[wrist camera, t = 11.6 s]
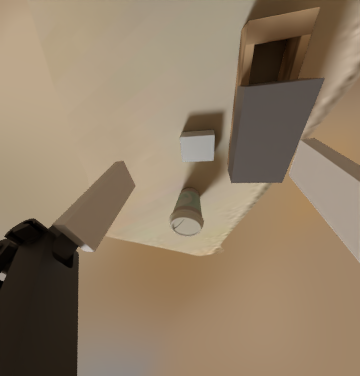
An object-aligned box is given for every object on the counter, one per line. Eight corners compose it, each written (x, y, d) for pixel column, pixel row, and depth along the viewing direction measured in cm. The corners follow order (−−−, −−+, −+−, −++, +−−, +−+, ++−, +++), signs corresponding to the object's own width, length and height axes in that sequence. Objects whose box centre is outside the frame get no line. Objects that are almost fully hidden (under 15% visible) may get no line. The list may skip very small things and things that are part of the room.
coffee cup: (196, 180, 39) (194, 212, 30) (208, 201, 43) (209, 234, 34) (170, 189, 42) (161, 220, 33) (183, 207, 46) (178, 240, 37)
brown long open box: (241, 30, 21) (249, 20, 18) (299, 19, 20) (320, 6, 16) (227, 163, 35) (229, 172, 31) (261, 162, 33) (268, 172, 30)
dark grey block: (233, 85, 24) (244, 87, 18) (289, 78, 23) (324, 78, 16) (225, 162, 33) (231, 182, 27) (265, 161, 32) (282, 182, 25)
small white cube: (181, 132, 32) (179, 137, 29) (213, 129, 30) (214, 134, 27) (184, 155, 35) (182, 161, 32) (212, 153, 34) (213, 160, 31)
